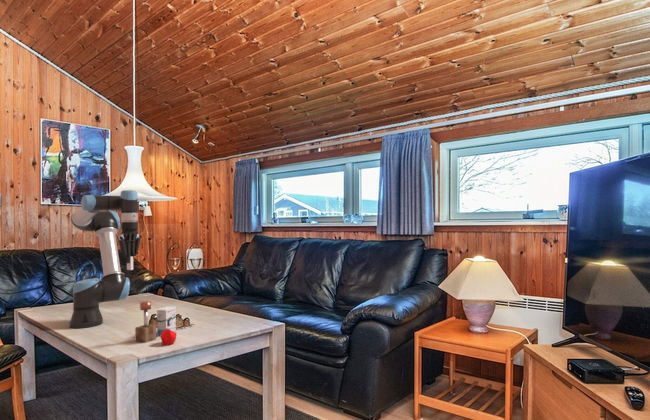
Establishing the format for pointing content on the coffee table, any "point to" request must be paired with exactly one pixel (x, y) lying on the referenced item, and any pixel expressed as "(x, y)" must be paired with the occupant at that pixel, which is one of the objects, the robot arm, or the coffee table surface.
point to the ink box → (166, 319)
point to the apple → (168, 337)
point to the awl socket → (145, 333)
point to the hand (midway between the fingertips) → (130, 269)
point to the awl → (145, 311)
